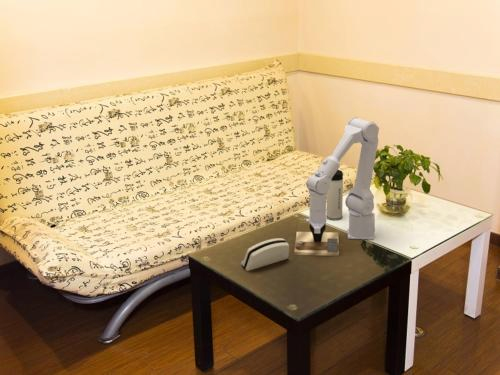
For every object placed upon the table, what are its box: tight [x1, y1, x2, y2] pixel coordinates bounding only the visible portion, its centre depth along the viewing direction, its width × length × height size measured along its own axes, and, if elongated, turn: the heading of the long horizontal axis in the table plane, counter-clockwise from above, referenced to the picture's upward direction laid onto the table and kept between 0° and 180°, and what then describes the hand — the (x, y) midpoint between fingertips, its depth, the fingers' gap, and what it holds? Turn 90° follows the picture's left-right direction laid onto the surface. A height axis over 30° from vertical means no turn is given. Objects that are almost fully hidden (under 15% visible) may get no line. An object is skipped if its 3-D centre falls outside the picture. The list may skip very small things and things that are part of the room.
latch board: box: [293, 231, 340, 257], centre depth 212 cm, size 16×17×1 cm
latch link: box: [294, 241, 340, 251], centre depth 207 cm, size 15×4×2 cm, turn 84°
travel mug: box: [326, 169, 344, 221], centre depth 231 cm, size 6×7×20 cm
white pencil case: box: [240, 237, 290, 272], centre depth 199 cm, size 17×5×10 cm, turn 121°
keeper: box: [327, 238, 338, 253], centre depth 206 cm, size 4×5×3 cm
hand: (317, 243), depth 209 cm, fingers closed
